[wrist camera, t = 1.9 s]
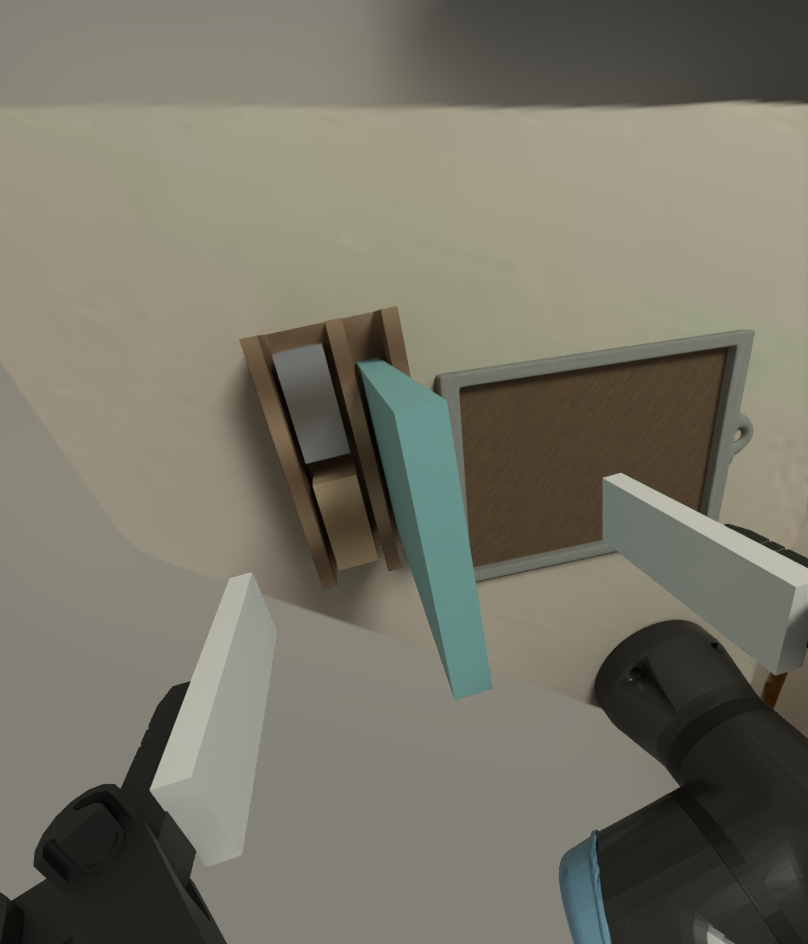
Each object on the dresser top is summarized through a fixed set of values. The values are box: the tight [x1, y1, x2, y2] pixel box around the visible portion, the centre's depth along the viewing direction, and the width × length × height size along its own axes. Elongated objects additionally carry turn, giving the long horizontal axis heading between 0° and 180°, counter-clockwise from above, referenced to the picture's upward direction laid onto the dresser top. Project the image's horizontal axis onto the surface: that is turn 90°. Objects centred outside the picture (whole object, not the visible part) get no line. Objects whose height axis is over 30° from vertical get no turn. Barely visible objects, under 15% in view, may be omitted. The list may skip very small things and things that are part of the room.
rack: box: [239, 306, 411, 589], centre depth 29 cm, size 18×9×5 cm, turn 12°
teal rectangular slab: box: [356, 358, 492, 700], centre depth 22 cm, size 12×2×18 cm, turn 12°
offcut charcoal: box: [272, 342, 350, 464], centre depth 27 cm, size 7×3×4 cm, turn 12°
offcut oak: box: [313, 457, 379, 571], centre depth 30 cm, size 7×3×4 cm, turn 12°
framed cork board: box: [436, 330, 755, 582], centre depth 35 cm, size 19×2×30 cm
